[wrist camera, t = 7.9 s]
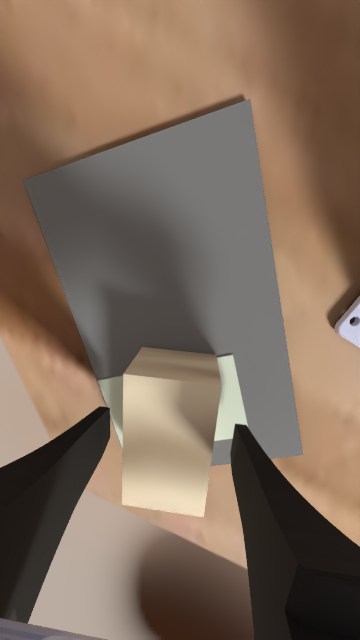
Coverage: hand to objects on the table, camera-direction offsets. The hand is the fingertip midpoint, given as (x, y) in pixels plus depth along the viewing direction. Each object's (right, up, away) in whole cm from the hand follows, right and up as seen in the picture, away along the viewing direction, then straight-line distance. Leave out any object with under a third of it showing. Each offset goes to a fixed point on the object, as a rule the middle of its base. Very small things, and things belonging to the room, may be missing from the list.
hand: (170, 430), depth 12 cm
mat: (0, +6, +1) cm, 6 cm away
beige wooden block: (0, +1, +2) cm, 2 cm away
